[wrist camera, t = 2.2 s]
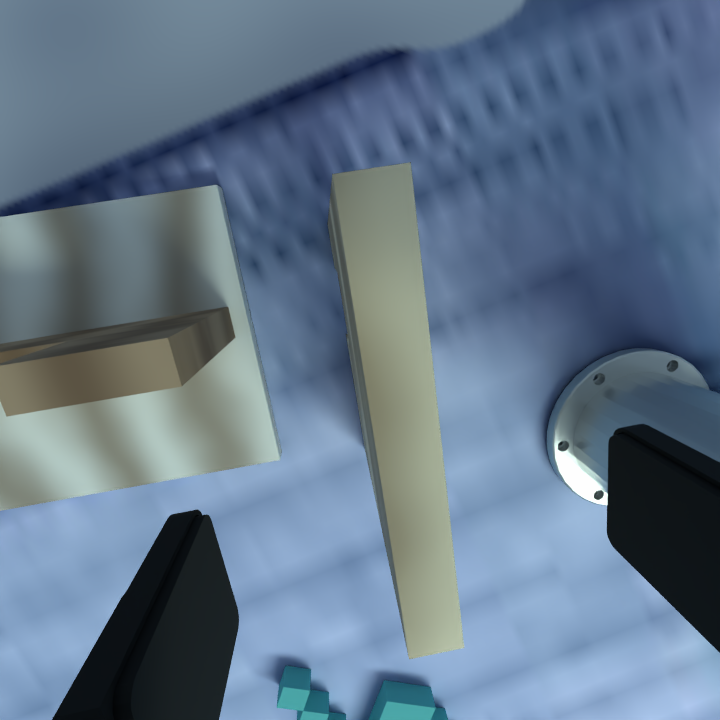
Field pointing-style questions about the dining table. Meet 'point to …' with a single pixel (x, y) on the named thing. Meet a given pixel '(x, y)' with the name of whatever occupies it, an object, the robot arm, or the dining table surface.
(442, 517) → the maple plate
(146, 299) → the cross base
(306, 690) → the alien figure
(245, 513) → the dining table surface
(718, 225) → the dining table surface
